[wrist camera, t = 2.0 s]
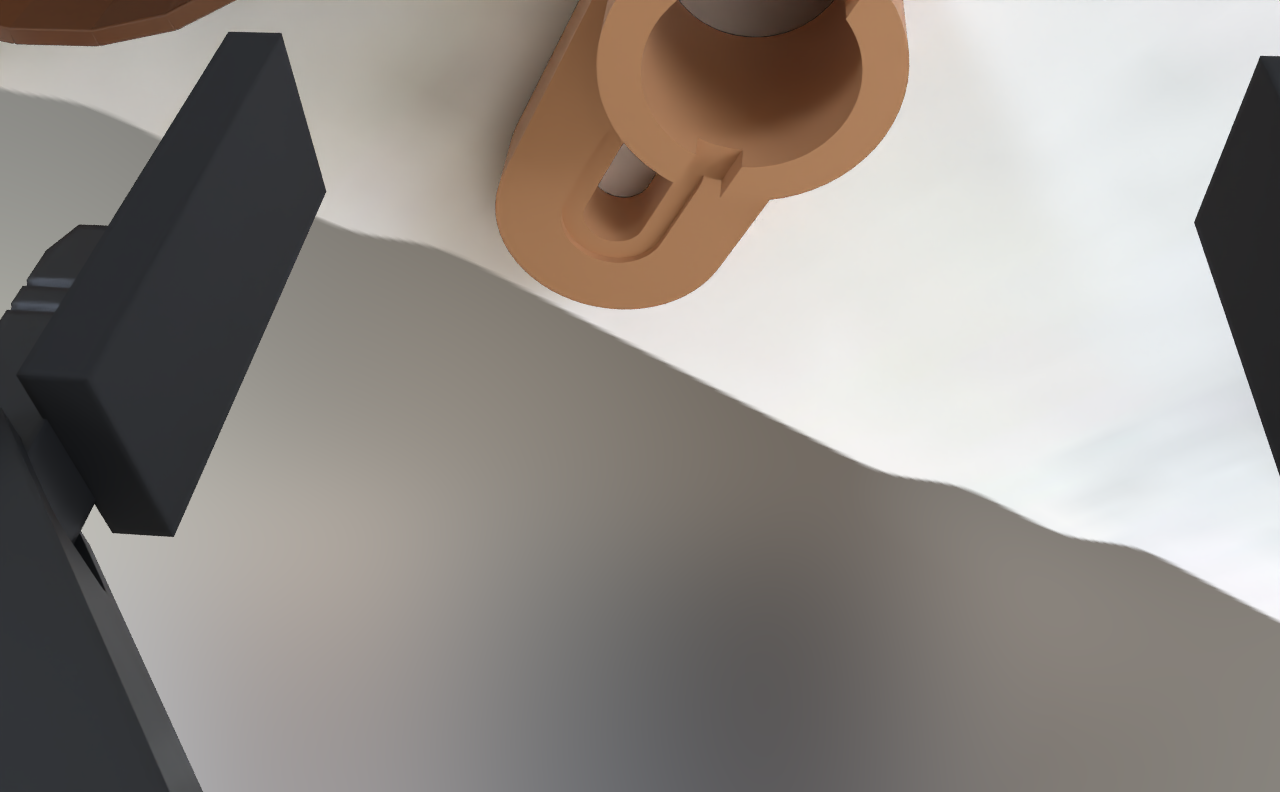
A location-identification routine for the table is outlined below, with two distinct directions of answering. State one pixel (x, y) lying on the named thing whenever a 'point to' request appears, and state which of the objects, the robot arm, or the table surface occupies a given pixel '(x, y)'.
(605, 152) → the bracket
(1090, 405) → the table surface
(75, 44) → the brown shallow bowl
